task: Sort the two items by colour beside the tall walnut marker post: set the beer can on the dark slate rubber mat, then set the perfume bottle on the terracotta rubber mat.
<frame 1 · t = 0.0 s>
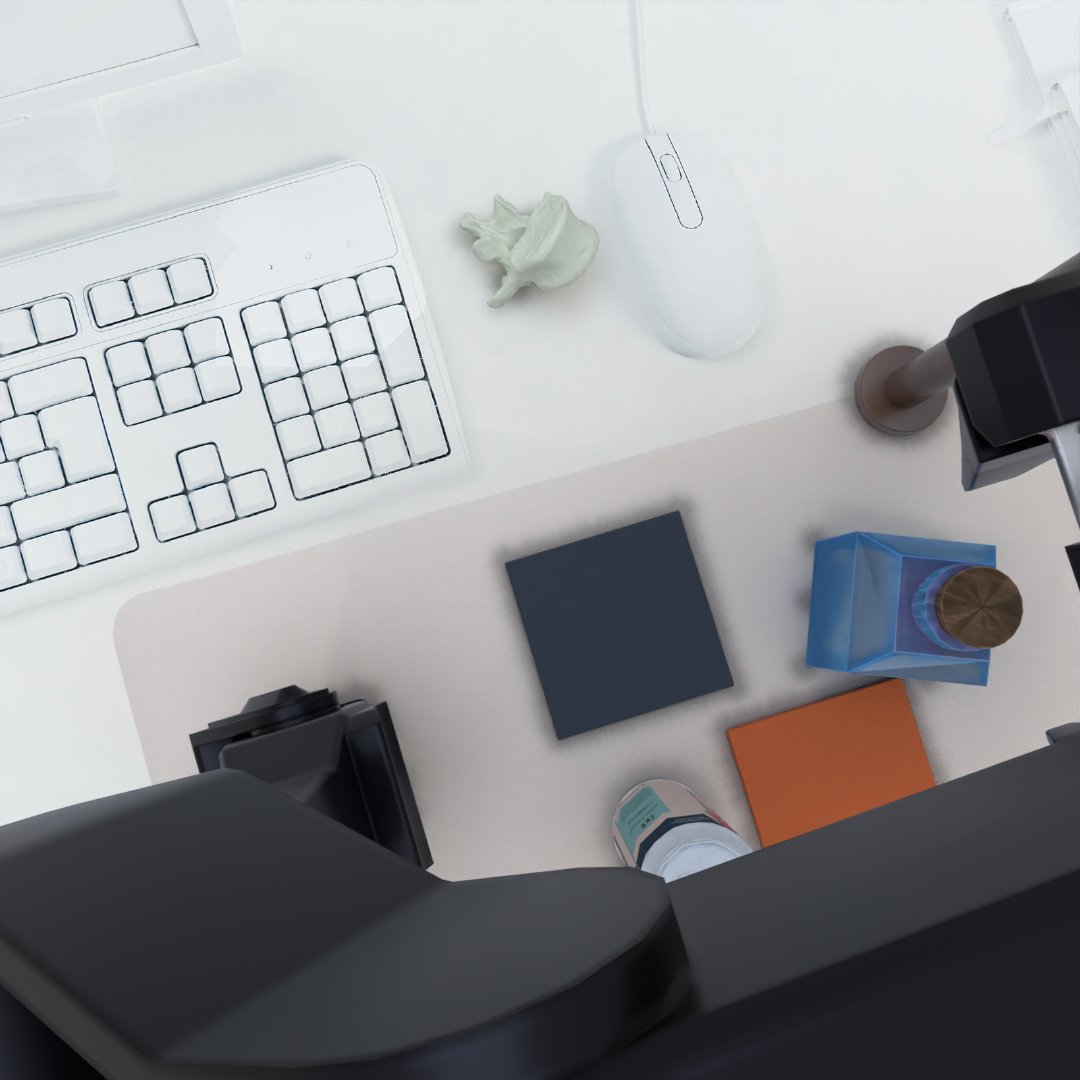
hand: (1017, 606, 36), 15 cm above the table, tool pointing down, fingers open, 9 cm apart
beer can: (659, 826, 50), on the table
vertebra: (498, 217, 48), point 4 cm above the table
terracotta mat: (840, 791, 50), on the table
perfume bottle: (870, 609, 51), on the table
slate mat: (618, 624, 51), on the table
marker post: (897, 392, 52), on the table
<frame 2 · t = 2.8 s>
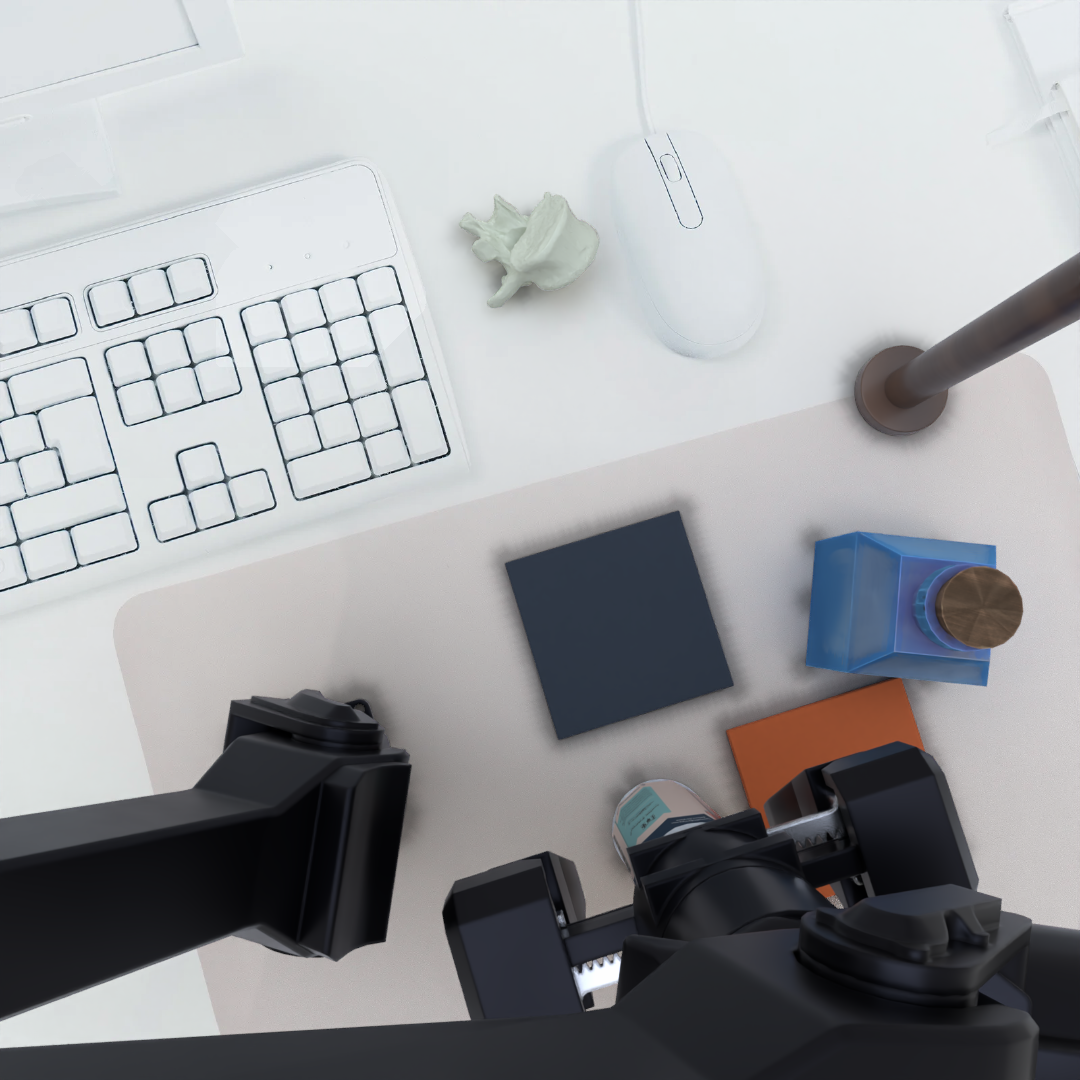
hand: (672, 846, 46), 4 cm above the table, tool pointing down
beer can: (659, 826, 50), on the table, touching gripper
everything else where it was.
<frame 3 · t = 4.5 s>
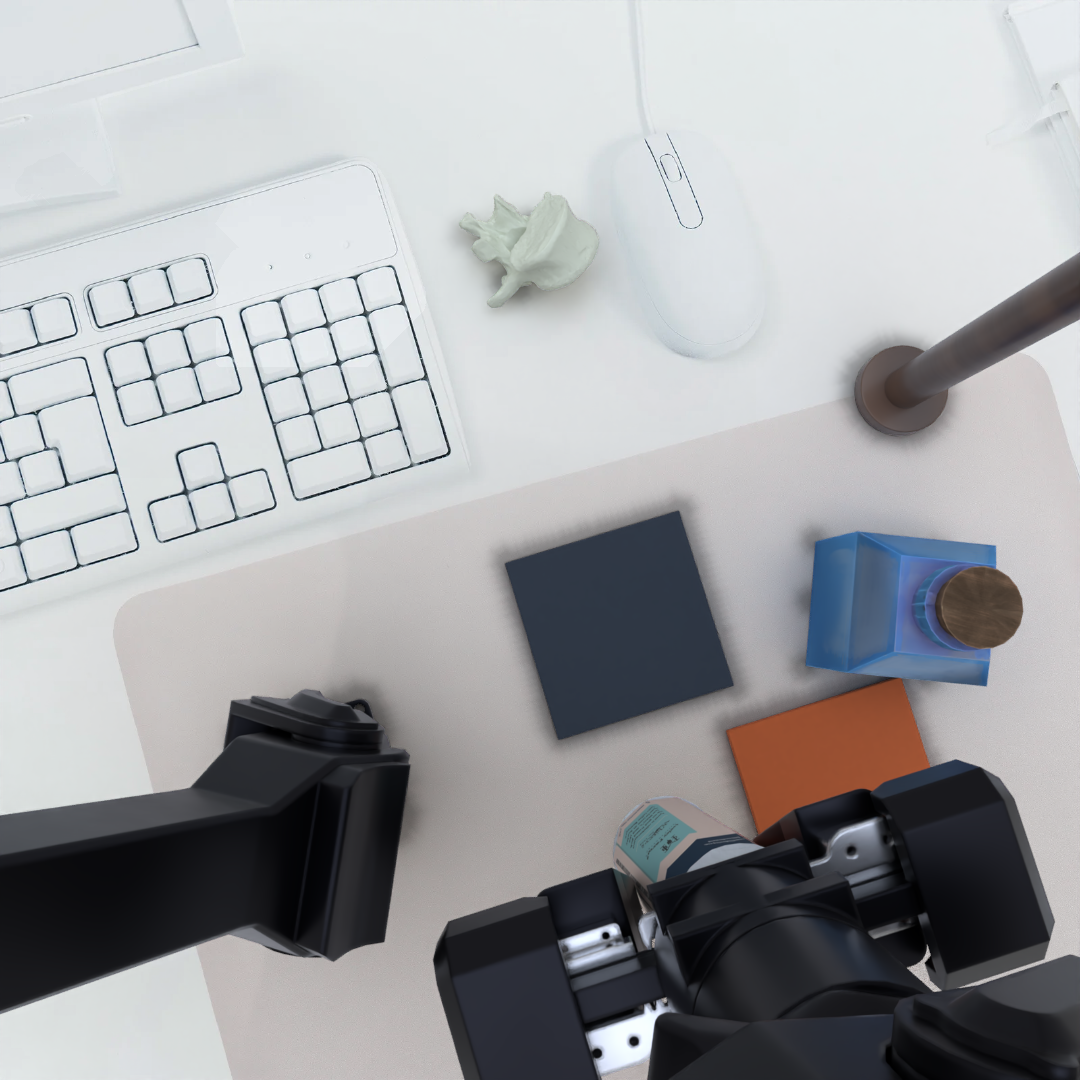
hand: (693, 874, 41), 9 cm above the table, tool pointing down, fingers closed on beer can, 5 cm apart
beer can: (662, 847, 46), point 4 cm above the table, touching gripper
everything else where it was.
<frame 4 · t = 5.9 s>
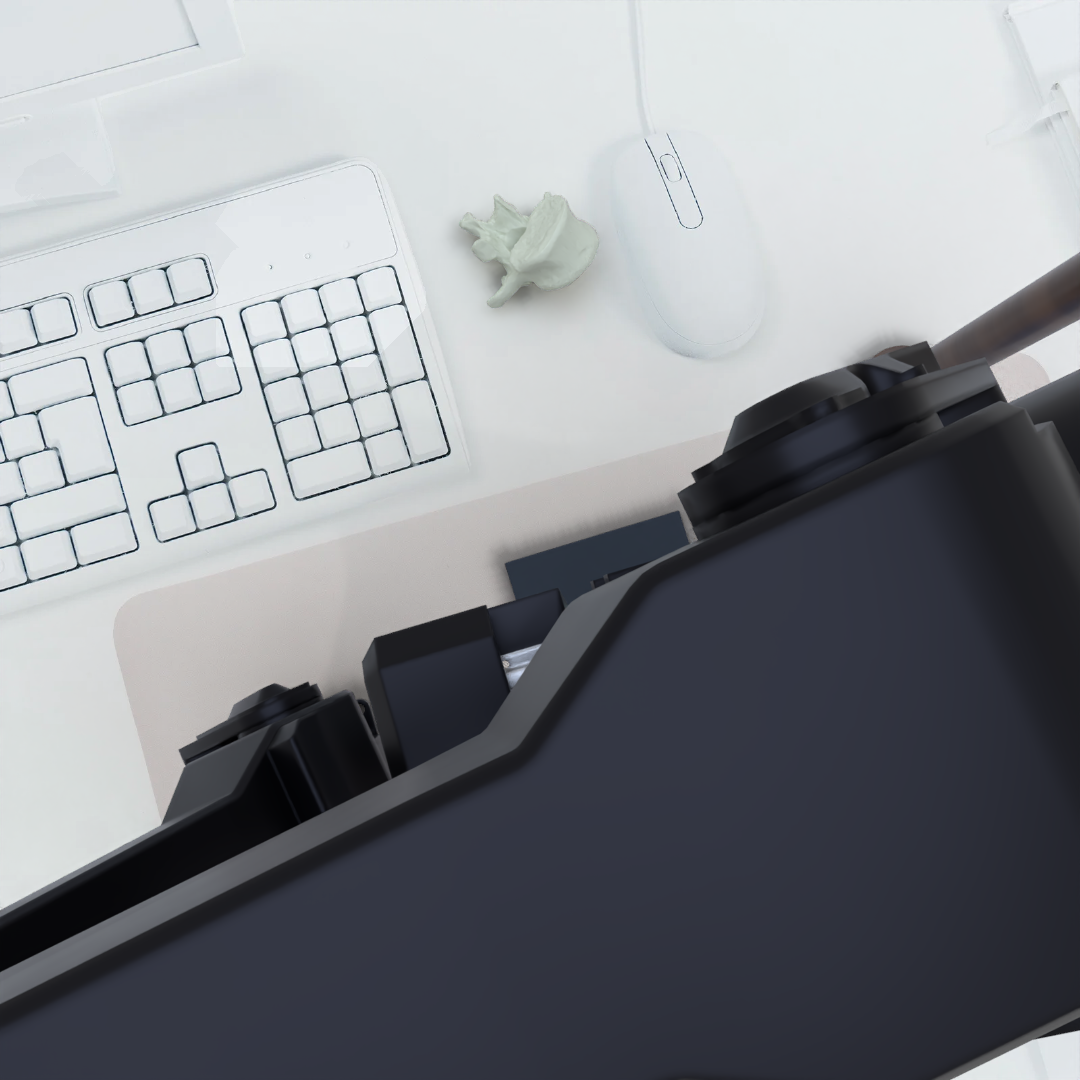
hand: (652, 645, 39), 12 cm above the table, tool pointing down, fingers closed on beer can, 5 cm apart
beer can: (624, 643, 44), point 7 cm above the table, touching gripper
everything else where it was.
when the fingers open (5 cm above the table, at t = 7.8 s): beer can stays where it is, resting on slate mat.
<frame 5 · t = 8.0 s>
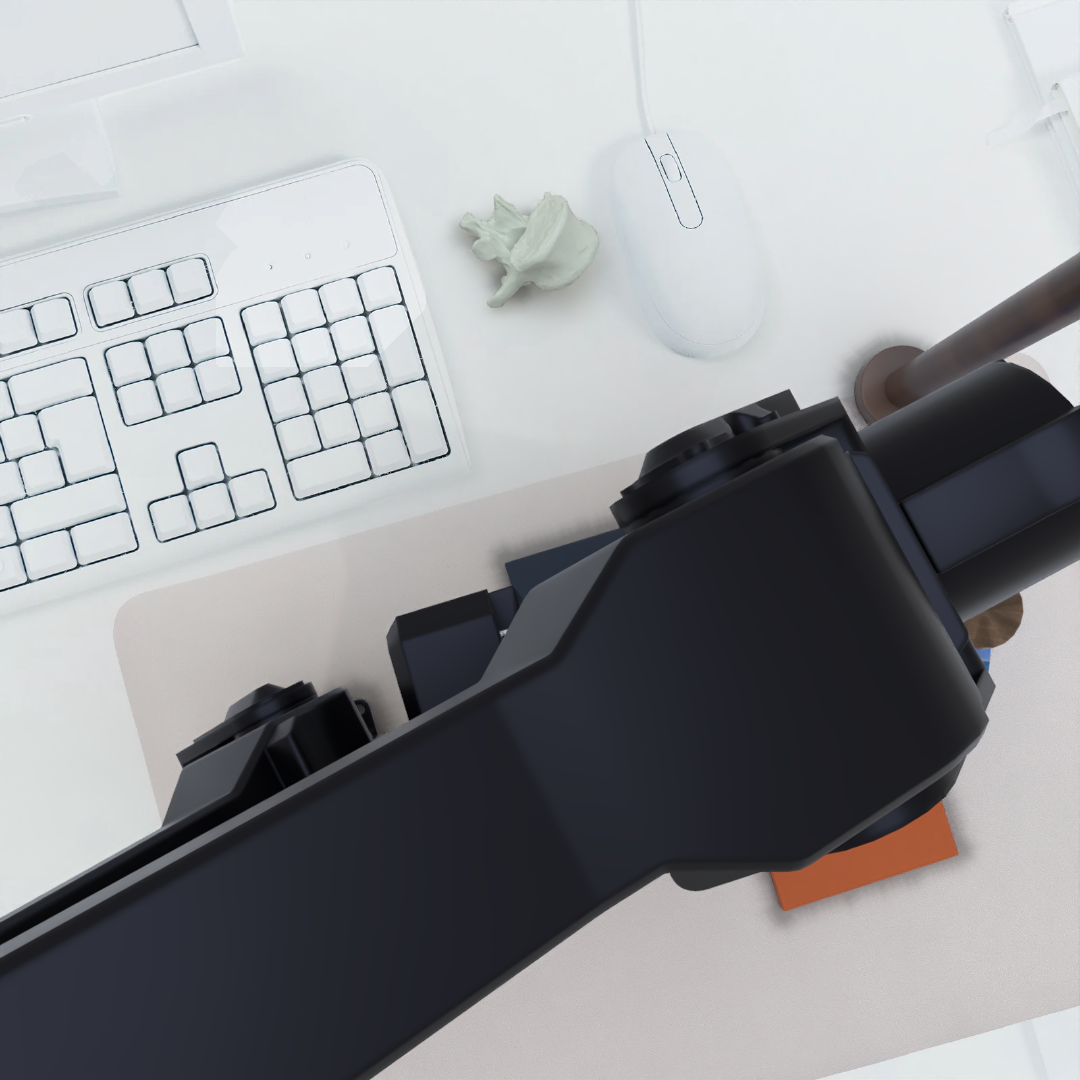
hand: (630, 625, 45), 5 cm above the table, tool pointing down, fingers open, 8 cm apart
beer can: (605, 626, 50), resting on slate mat
everything else where it was.
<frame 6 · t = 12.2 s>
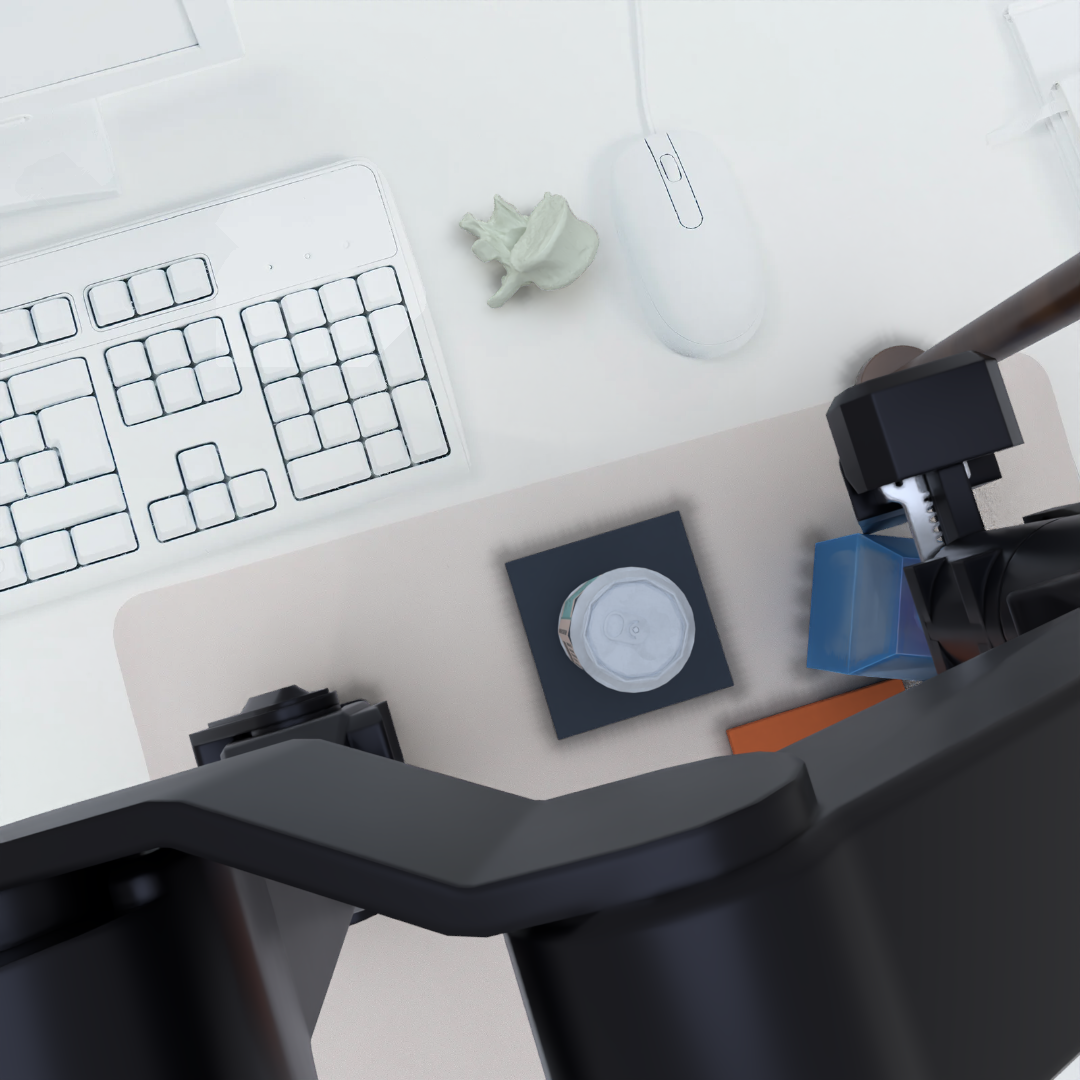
hand: (900, 609, 47), 4 cm above the table, tool pointing down, fingers closed on perfume bottle, 7 cm apart
perfume bottle: (871, 610, 51), on the table, touching gripper
everything else where it was.
when the fingers open (5 cm above the table, at t = 17.1 s): perfume bottle stays where it is, resting on terracotta mat.
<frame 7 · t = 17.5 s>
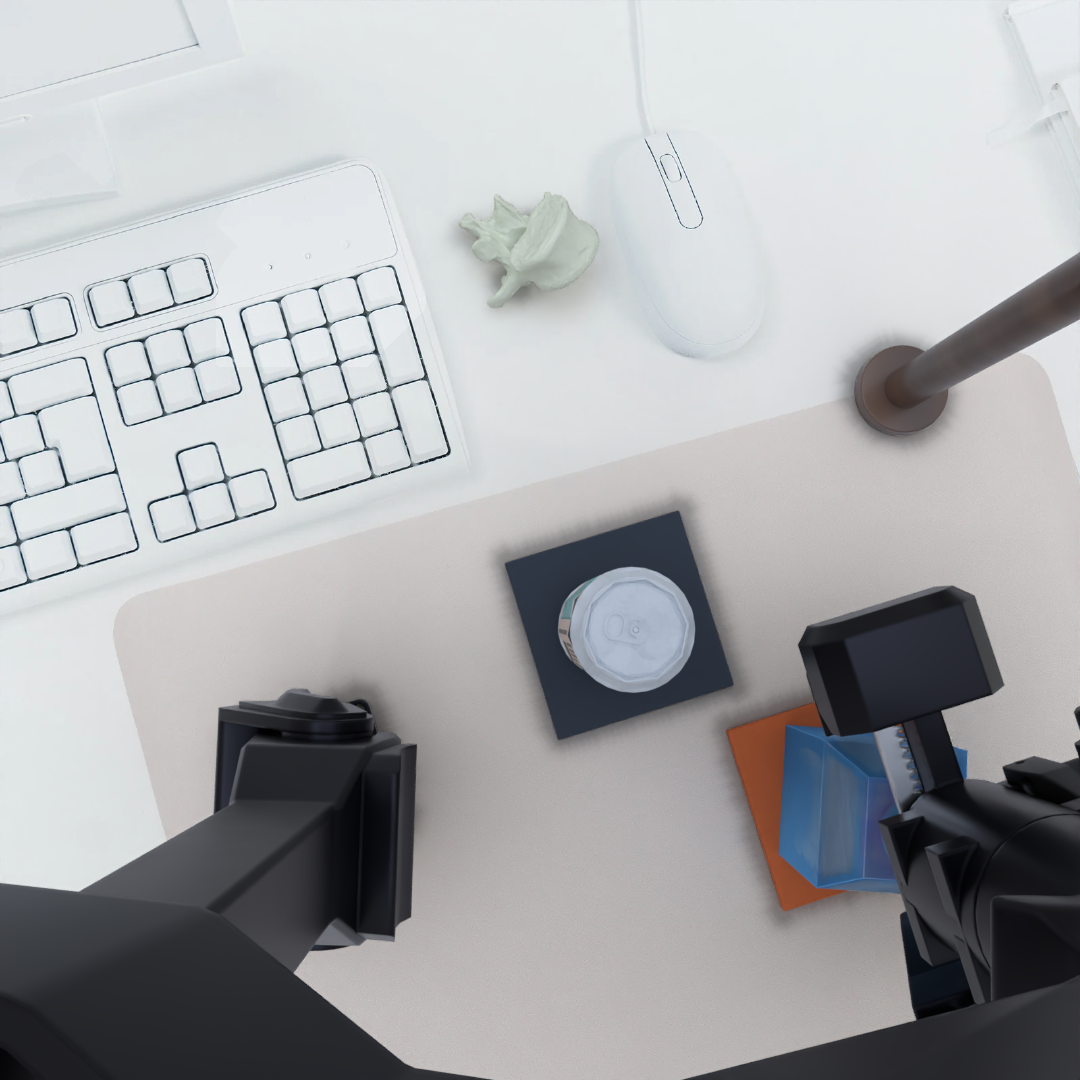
hand: (878, 811, 45), 5 cm above the table, tool pointing down, fingers open, 9 cm apart
perfume bottle: (844, 792, 50), resting on terracotta mat
everything else where it was.
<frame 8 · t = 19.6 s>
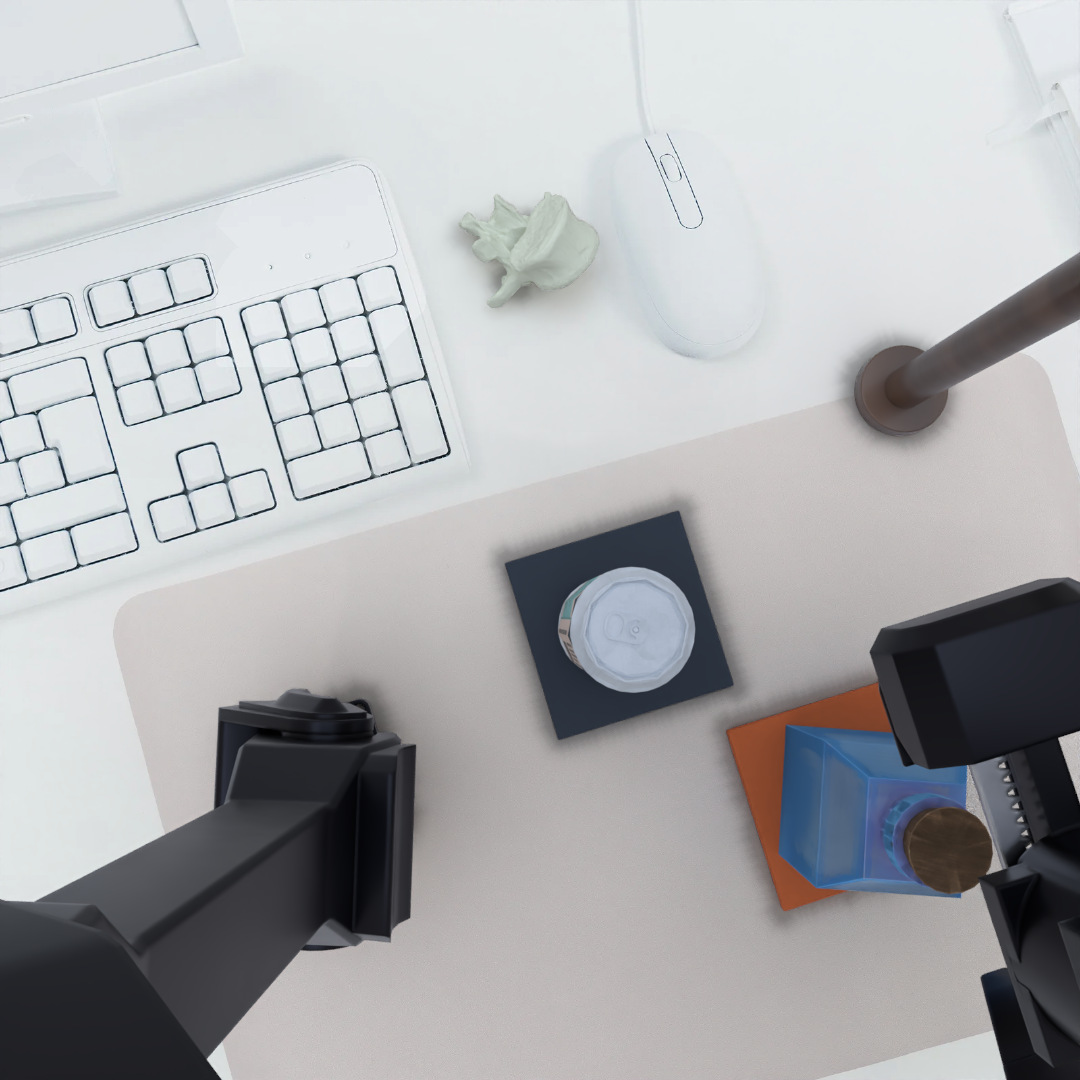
hand: (954, 851, 37), 13 cm above the table, tool pointing down, fingers open, 9 cm apart
nothing on the table moved.
at the end: beer can 0.6 cm off-centre on the slate mat, point 0.3 cm above the slate mat's base; perfume bottle 0.1 cm off-centre on the terracotta mat, point 0.3 cm above the terracotta mat's base; beer can inside the target area on the table beside the marker post (1.7 cm from its centre), resting on slate mat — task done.
